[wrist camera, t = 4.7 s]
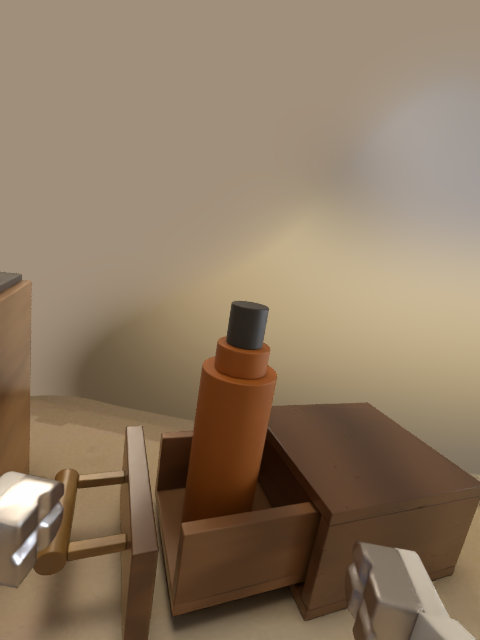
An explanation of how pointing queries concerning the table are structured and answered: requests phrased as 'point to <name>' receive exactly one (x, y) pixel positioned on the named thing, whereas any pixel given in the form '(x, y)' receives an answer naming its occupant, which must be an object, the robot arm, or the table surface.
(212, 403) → the lotion bottle
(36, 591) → the table surface
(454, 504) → the cabinet
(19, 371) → the display stand
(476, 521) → the table surface
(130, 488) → the drawer
